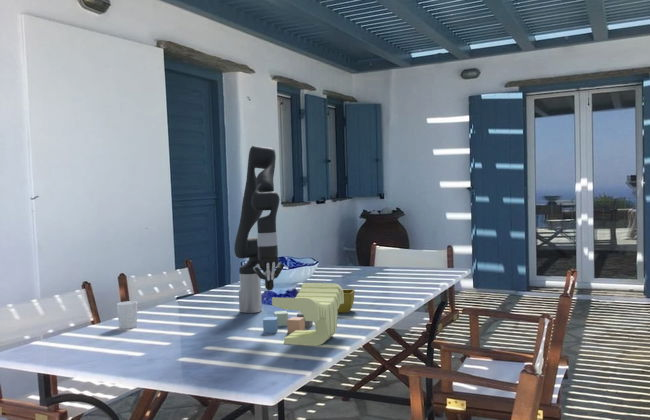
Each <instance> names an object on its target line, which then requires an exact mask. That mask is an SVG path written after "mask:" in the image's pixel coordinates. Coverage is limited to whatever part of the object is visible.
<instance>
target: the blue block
mask: <svg viewBox="0 0 650 420" xmlns="http://www.w3.org/2000/svg"><path fill="white" fill-rule="evenodd" d="M262 326H263V327H262V331H263V334H273V333H274V334H276V333H278V331H279V326H278V317H274V316H264V317H263V319H262Z"/></svg>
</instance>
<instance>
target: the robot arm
mask: <svg viewBox="0 0 650 420" xmlns="http://www.w3.org/2000/svg"><path fill="white" fill-rule="evenodd" d="M276 158H277V157H276V150H275V149H274V148H272V147H267V146H260V145H252V146H251V147H250V149H249V152H248V159H247V169H246V170H247V172H246V181H245V186H244V187H245V188H244V193H243V198H242V204H241V211H240V219H239V225H238V229H237V234H236V235H235V236H236V237H235V241H234V255H235V256H236V257H237V258H238V259H248V261H247V262H246V263H244V264H242V265H241V266H240V267H239V269H238V270H239V290H238V304H239V305H238V307H239V308H238V309H239V313H243V314H253V313H254V314H255V313H259V312H262V310H263V307H262V306H263V305H262V286H261V285H262V281H261V280H263V281H264V287H265V289H266V290H267V291H273V289H274V280H275V279H278V277H279V275H280V274H281V272H282V271H283V269H284V267H285V264H284V263H281V262H280V259H279V258H278V257H279V254H278V253H279V250H278V249H279V248H278V246H279V245H278V235H277V214H278V209H279V206H280V199H281V198H280V196H279V194H278V193H277V192H276V191H275V188H274V186H275V184H274V176H275V169H276ZM256 169H261V170H262V171H260V172H259V173H258V175H257V176H256ZM264 211H270V212H269V214H268V215H265V216H262V215H263V212H264ZM256 223H257V224H256ZM255 224H256V225H257V227H256V228H257V236H249V234H250V232H251V230H252V228H253V227H254V225H255ZM261 270H262V271H261Z"/></svg>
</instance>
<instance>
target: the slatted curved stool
mask: <svg viewBox="0 0 650 420" xmlns="http://www.w3.org/2000/svg"><path fill="white" fill-rule="evenodd" d="M343 289H344V288H342V286H340V284H337V283H335V282H333V283H330V282H328V283H327V282H326V283H324V282H320V283H319V282H303V283H302V284H301V287H300V289H299V291H298V293H297V294H296V296H295V297H271V304H272V305H271V306H272V307H277V308H279V309H282V310H293V311H298V312H301V313H302V314H303V315H304V318H305V321H313V324H314V325H315V329H310V330H309V329H308V330H307V329H305V330H296V331H294V332H293V333H288V335H286V336H285V337H284V340H283V344H285V345H299V344H300V345H301V346H302V345H303V346H304V345H305V346H321V345H323V344H325V342H326V341H328V340H329V339H330V338H332V337H333V336H334V335H335V334H336V333H337V330H338V314H339V313H338V312H337V309H338V308H339V306H340V304H342V303H343V304H344V293H343Z"/></svg>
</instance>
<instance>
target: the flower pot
mask: <svg viewBox="0 0 650 420" xmlns="http://www.w3.org/2000/svg"><path fill="white" fill-rule="evenodd" d="M342 289H343V293H344V304H343V303H342V304H340V306H339V308H338V309H337V312H338V314H339V313H341V314H342V313H344V314H346V313H350V312H351V310H352V309H353V305H354V302H355V289H344V288H342Z"/></svg>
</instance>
